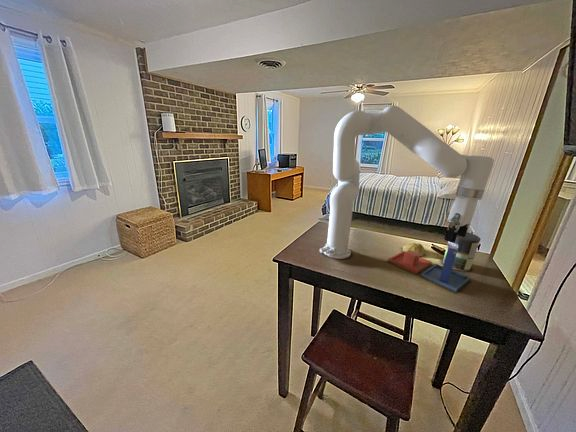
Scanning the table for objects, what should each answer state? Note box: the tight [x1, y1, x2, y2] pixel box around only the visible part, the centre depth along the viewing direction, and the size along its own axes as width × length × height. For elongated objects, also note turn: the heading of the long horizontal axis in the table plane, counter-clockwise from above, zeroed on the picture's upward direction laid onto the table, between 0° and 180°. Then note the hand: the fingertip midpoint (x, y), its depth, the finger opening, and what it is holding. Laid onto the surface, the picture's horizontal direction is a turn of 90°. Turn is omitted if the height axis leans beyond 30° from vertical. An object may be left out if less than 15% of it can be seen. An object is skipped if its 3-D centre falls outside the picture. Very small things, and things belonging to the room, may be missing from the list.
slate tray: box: [420, 263, 471, 292], centre depth 93 cm, size 13×12×2 cm
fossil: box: [402, 242, 427, 257], centre depth 114 cm, size 11×6×10 cm
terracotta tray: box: [387, 250, 432, 274], centre depth 104 cm, size 13×12×2 cm
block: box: [402, 250, 421, 266], centre depth 103 cm, size 4×4×4 cm
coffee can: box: [442, 231, 481, 271], centre depth 102 cm, size 10×10×14 cm
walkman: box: [439, 246, 458, 283], centre depth 91 cm, size 8×3×12 cm, turn 141°
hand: (454, 238), depth 88 cm, fingers open, 9 cm apart
